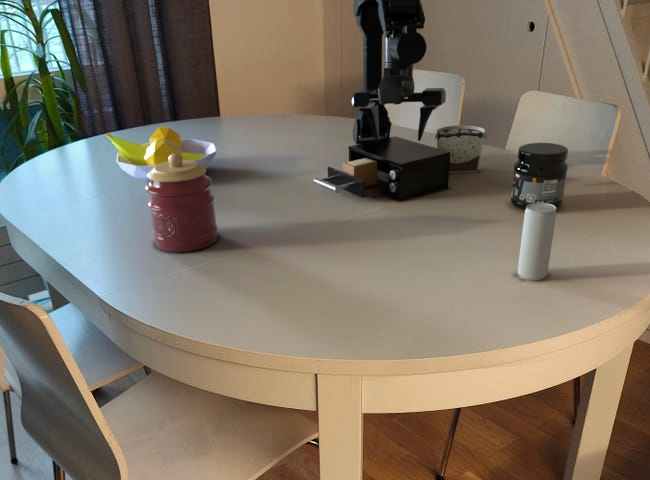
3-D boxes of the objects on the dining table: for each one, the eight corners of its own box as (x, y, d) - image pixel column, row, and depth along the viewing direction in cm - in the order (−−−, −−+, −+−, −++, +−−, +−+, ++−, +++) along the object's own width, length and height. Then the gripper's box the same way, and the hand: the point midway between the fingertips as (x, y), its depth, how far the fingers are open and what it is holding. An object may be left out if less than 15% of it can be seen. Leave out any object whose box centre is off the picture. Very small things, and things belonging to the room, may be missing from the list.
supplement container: (525, 194, 151) (532, 139, 145) (571, 203, 145) (580, 146, 139) (500, 207, 145) (506, 150, 139) (546, 217, 139) (555, 158, 132)
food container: (480, 164, 173) (483, 123, 168) (483, 171, 167) (487, 129, 162) (430, 166, 174) (432, 125, 169) (432, 173, 169) (434, 131, 164)
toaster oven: (346, 181, 167) (345, 146, 163) (394, 170, 173) (395, 136, 169) (397, 202, 152) (398, 164, 148) (448, 188, 158) (450, 152, 154)
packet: (343, 185, 159) (342, 162, 157) (365, 179, 162) (365, 157, 159) (354, 189, 156) (353, 166, 153) (377, 183, 159) (377, 161, 156)
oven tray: (307, 188, 161) (306, 171, 158) (370, 173, 168) (371, 156, 166) (341, 203, 150) (341, 185, 148) (407, 186, 157) (408, 169, 155)
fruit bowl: (236, 163, 187) (232, 120, 181) (183, 193, 166) (177, 146, 161) (152, 157, 198) (145, 116, 192) (92, 185, 177) (83, 140, 171)
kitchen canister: (191, 257, 132) (178, 166, 122) (141, 247, 138) (125, 159, 129) (231, 234, 141) (222, 148, 132) (182, 226, 147) (170, 142, 138)
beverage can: (512, 271, 118) (520, 203, 112) (540, 268, 118) (549, 201, 112) (523, 282, 114) (532, 213, 108) (551, 280, 114) (562, 210, 108)
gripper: (343, 67, 136) (345, 147, 143) (437, 63, 129) (434, 148, 137) (358, 61, 145) (359, 138, 152) (447, 58, 139) (444, 137, 146)
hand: (398, 140), depth 146 cm, fingers open, 9 cm apart
